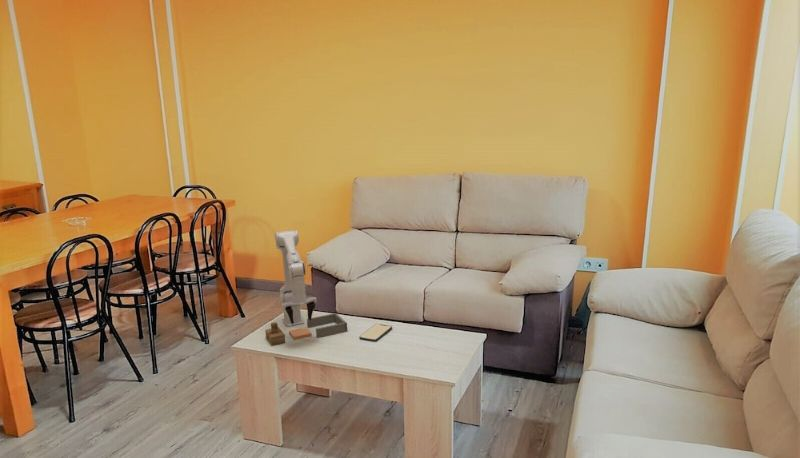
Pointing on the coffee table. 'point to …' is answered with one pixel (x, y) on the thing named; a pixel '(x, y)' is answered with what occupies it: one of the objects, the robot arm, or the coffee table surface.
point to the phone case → (375, 332)
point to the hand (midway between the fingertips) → (300, 321)
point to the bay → (328, 330)
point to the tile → (300, 333)
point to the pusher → (275, 335)
